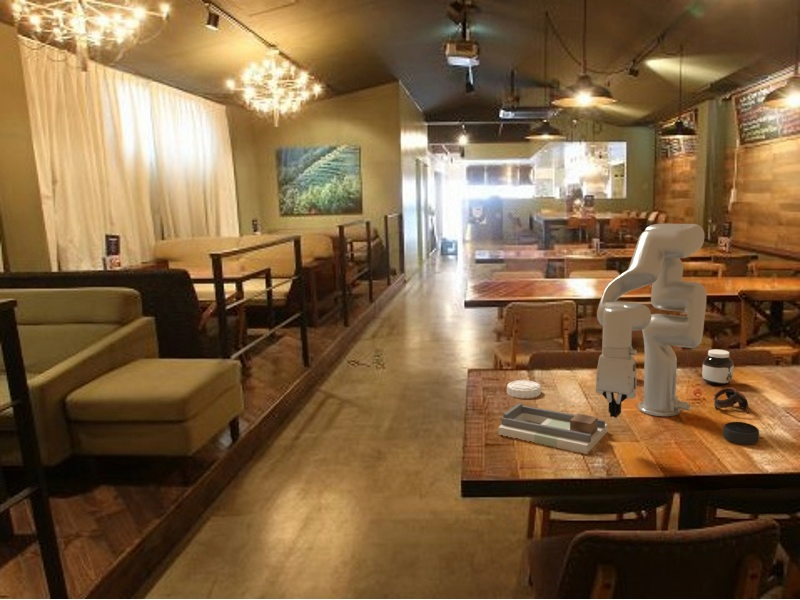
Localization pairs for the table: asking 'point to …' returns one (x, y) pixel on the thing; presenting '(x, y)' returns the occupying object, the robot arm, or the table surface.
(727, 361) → the spread jar
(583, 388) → the table surface
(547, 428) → the lane board
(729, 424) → the smart speaker
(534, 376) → the table surface
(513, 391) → the mooncake
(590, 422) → the walnut block
